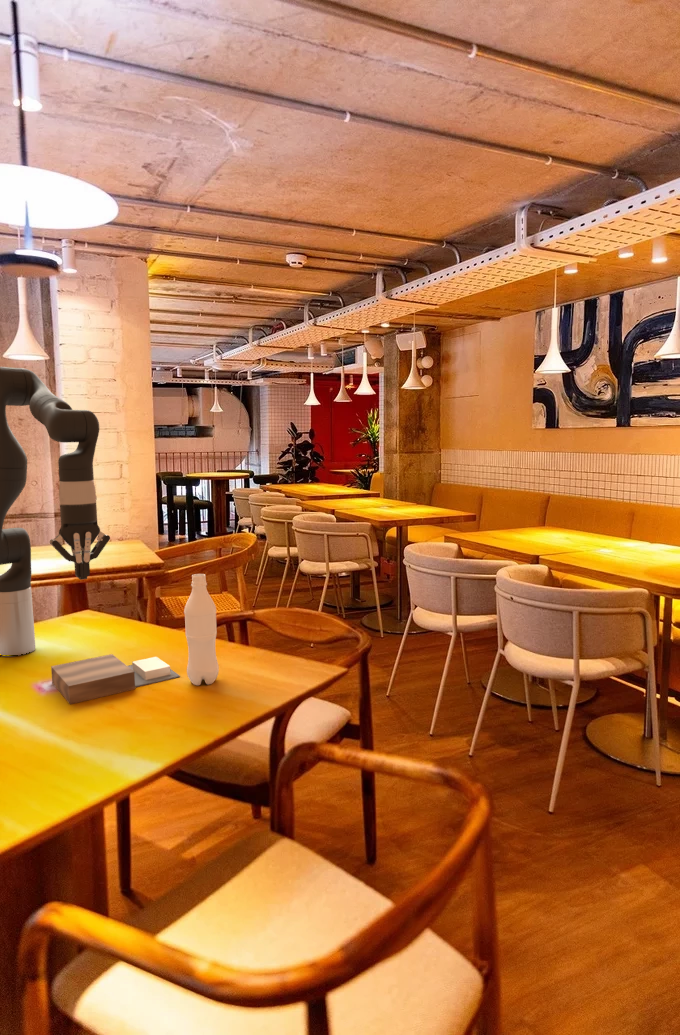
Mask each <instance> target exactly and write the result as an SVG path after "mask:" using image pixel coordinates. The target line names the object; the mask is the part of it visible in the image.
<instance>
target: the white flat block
mask: <svg viewBox="0 0 680 1035" xmlns="http://www.w3.org/2000/svg"><path fill="white" fill-rule="evenodd" d="M131 662H132V664H131V665H132V666H133V670H134V671H135V672H136V673H138V674H139V675H140V676H141V677H143V678H144V679H145V680H148V679H152V678H157V677H161V676H165V675H170V669H171V666H170V664H168V663H166V662H165V661H163V660H162V659H160V658H159V657H158V656H152V657H148V658H143V659H138V660H134V661H131Z"/></svg>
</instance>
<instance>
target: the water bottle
mask: <svg viewBox="0 0 680 1035" xmlns="http://www.w3.org/2000/svg"><path fill="white" fill-rule="evenodd" d="M191 580H192V581H191V584H190V587H191V593H190V595H189V597H188V599H187V601H186V604H185V606H184V609H183V610H184V611H183V614H184V621H185V622H184V623H185V624H184V625H185V627H184V628H185V637H186V642H187V643H186V644H187V647H188V660H187V666H186V674H187V677H188V679H189V681H190V682H191V683H192V684H193V685H194V686H200V685H201V684H202V682H203V680H204V682H205V684H206V686H207V685H212V684H213V683H214V682H215V681H216V679H217V678H218V675H219V671H220V670H219V668H220V667H219V666H220V665H219V662H218V658H217V655H216V654H217V652H216V638H217V634H218V632H217V606H216V604H215V602H214V600H213V598H212V597H211V595H210V593H209V592H208V590H207V586H208V583H207V580H206V574H204V573H195V574H192V575H191Z"/></svg>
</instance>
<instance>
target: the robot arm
mask: <svg viewBox="0 0 680 1035" xmlns="http://www.w3.org/2000/svg"><path fill="white" fill-rule="evenodd" d="M7 406H8V407H9V406H12V407H13V406H14V407H15V406H16V407H26V406H28V408H29V411H30V413H31V415H32V417H33V418H34V419H35V420H36V421H37V422H39V423H40V424H42V425H43V426H44V427H45V429H46V431H47V435H48V436H49V438H51V440H53V441H55V442H58V443H78V444H77V446H76V449H75V450H74V451H73V452H69V453H65V454H62V455H59V458H58V462H57V464H58V479H59V481H58V482H59V486H58V487H59V489H58V498H59V499H58V500H59V512H60V513H59V514H60V515H59V516H60V528H59V530H58V535H57V536H55V537H54V538H52V539H50V540H49V544H50V545H51V546H52V547H53V548H54V549H55V550H56V551H57V552H58V553H59V554H60V555H61V556H62V557H63V558H64V559H65V560H67V561H68V562H72V563H74V575H75V577H76V578H78V579H79V580H88V577H90V574H91V570H90V568H91V567H90V562H91V561H92V560H94V559H95V560H96V559H98V557H99V556H100V554H101V553H102V551H103V550H104V548H105V547H106V546H107V544H108V543H109V541H110V540H111V537H110V535H108V534H105V533H103V532H102V531H101V528H100V526H99V525H98V511H97V510H98V508H97V498H98V497H97V494H96V493H97V492H96V487H95V486H96V485H95V481H94V480H95V479H94V478H95V477H94V475H95V474H94V457H95V452H96V446H97V444H98V439H99V438H98V437H99V435H100V422H99V419H98V417H97V415H96V414H95V413H94V412H93V411H91V410H88V409H73V408H72V407H71V405H70V404H69V403H67V402H66V401H65V400H63V399H62V398H61V397H58V396H57V395H56V394H54V393H53V392H52V391H51V390H50V389H49V388H48V386H46V384H45V383H44V382H43V381H42V380H41V379H40V377H39V376H38V375H37V374H36V373H35V372H34V371H32V370H30V369H28V368H24V367H10V366H0V566H3V565H10V564H11V566H10V567H9V568H8V570H7V571H5V572H4V573H2V574H1V575H0V654H1V655H18V656H22V655H21V654H23V655H26V653H27V654H29V652H30V653H32V652H34V651H35V650H36V639H35V638H36V636H35V634H36V633H35V621H34V611H33V610H34V608H33V596H32V594H33V593H32V585H31V584H32V583H31V582H32V549H31V548H32V545H31V537H30V535H29V533H28V531H27V530H26V529H25V528H23V527H11V528H3V527H4V521H5V519H6V515H7V513H9V512H8V511H9V510H10V509H11V507H12V506H13V504H14V503H15V501H17V500H18V497H19V496H20V495H21V493H22V492H23V491H24V488H25V486H26V484H27V477H28V457H27V454H26V452H25V450H24V447H23V446H22V445H21V443H20V442H19V441H18V439H17V437H16V436H15V435H14V432H12V430H11V427H10V425H9V423H8V419H7V411H6V409H7ZM95 541H97V542H96V543H95V545H94V546H93V547H91V546H92V545H93V544H94V542H95ZM64 542H65V543H66V544H67V546H69V547H70V548H71V552H72V554H71V553H70V552H69V551H68V550H66V548H64V547H63V546H64ZM91 548H92V549H91Z"/></svg>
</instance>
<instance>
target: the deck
mask: <svg viewBox="0 0 680 1035" xmlns="http://www.w3.org/2000/svg"><path fill="white" fill-rule="evenodd" d="M128 666H129V665H127V664H126V663H124V662H123V661H121V660H120V659H119V658H118V657H117V656H115V655H114V654H112V653H111V654H106V655H102V656H97V657H91V658H87V659H82V660H76V661H75V660H74V661H71V662H66V663H61V664H56V665H51V666H50V669H51V670H50V671H51V683H52V685H53V686H54V687H55V688H56V689H57V691H59V692H58V693H60V694H61V695H62V696H63V698H64V699H65V700H66V702H68V704H69V705H74V704H77V703H81V702H86V701H91V700H95V699H98V698H102V697H107V696H110V695H111V696H112V695H115V694H120V693H125V692H128V691H133V690H136V687H135V676H134V671H133V670H131V669H130V668H129V667H128Z"/></svg>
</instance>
